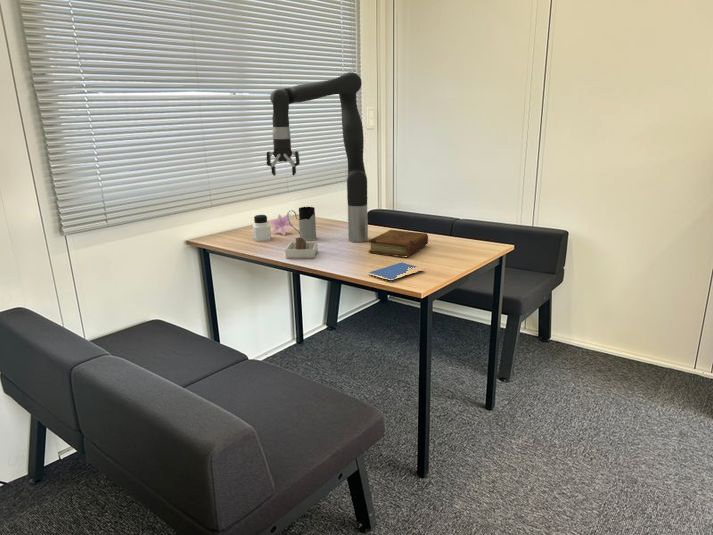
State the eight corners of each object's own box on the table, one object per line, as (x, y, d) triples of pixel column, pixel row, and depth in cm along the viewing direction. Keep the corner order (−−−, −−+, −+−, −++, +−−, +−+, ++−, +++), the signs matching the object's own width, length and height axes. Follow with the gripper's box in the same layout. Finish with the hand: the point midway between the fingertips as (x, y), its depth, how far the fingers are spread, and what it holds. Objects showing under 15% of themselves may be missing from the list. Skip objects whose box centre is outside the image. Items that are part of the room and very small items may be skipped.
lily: (266, 232, 258) (264, 218, 251) (285, 223, 264) (283, 208, 257) (281, 244, 252) (279, 229, 245) (299, 233, 258) (298, 219, 251)
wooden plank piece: (301, 248, 209) (306, 251, 221) (301, 237, 210) (306, 241, 222) (295, 248, 209) (300, 251, 221) (295, 237, 210) (300, 241, 222)
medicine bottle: (271, 240, 243) (269, 215, 239) (256, 242, 240) (254, 217, 237) (267, 237, 249) (266, 213, 246) (253, 238, 247) (251, 214, 243)
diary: (408, 258, 212) (408, 245, 210) (368, 253, 221) (368, 240, 219) (427, 245, 231) (428, 233, 230) (390, 241, 240) (390, 229, 238)
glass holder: (314, 241, 240) (312, 210, 235) (285, 240, 243) (283, 209, 238) (319, 236, 248) (318, 206, 244) (291, 235, 251) (289, 206, 246)
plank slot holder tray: (317, 250, 224) (317, 242, 223) (314, 258, 213) (313, 249, 211) (290, 250, 225) (290, 242, 223) (285, 258, 213) (285, 249, 212)
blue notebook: (401, 264, 204) (401, 261, 204) (425, 271, 196) (425, 268, 195) (367, 275, 192) (367, 272, 191) (391, 283, 183) (391, 279, 183)
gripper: (299, 137, 222) (301, 174, 227) (267, 137, 223) (269, 174, 228) (296, 138, 215) (298, 176, 220) (263, 138, 216) (266, 176, 221)
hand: (284, 175), depth 224 cm, fingers open, 8 cm apart
